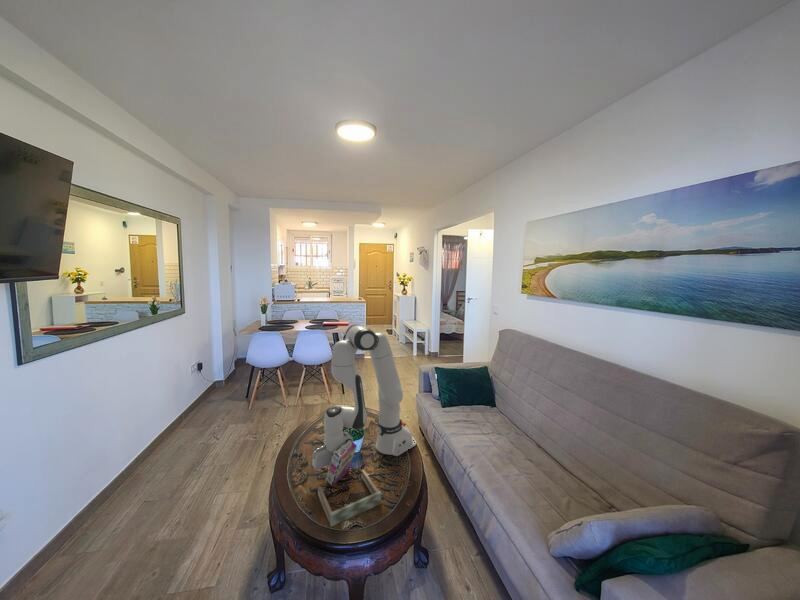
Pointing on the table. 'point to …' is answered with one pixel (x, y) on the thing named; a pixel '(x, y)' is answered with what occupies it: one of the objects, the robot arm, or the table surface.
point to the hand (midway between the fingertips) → (333, 468)
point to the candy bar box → (340, 462)
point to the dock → (354, 507)
